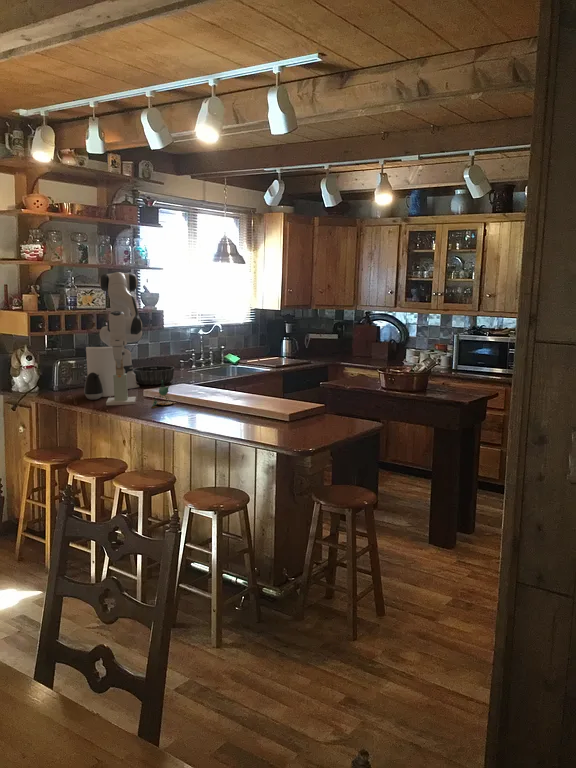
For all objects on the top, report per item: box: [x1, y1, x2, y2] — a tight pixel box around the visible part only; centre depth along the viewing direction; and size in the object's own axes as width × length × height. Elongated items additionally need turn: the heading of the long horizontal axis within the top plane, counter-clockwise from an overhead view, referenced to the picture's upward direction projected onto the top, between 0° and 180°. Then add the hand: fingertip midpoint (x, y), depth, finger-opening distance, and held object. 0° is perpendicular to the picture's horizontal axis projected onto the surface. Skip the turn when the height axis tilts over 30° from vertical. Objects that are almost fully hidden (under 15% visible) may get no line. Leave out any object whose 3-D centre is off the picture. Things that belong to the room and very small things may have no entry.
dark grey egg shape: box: [83, 372, 103, 401], centre depth 386 cm, size 10×10×15 cm
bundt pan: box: [132, 365, 175, 386], centre depth 438 cm, size 26×26×10 cm
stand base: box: [105, 373, 137, 406], centre depth 375 cm, size 15×15×16 cm
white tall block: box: [85, 346, 116, 398], centre depth 400 cm, size 17×17×28 cm
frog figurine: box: [150, 380, 176, 409], centre depth 366 cm, size 10×18×15 cm, turn 137°
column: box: [115, 351, 125, 375], centre depth 373 cm, size 6×6×26 cm
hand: (119, 366), depth 373 cm, fingers open, 6 cm apart
